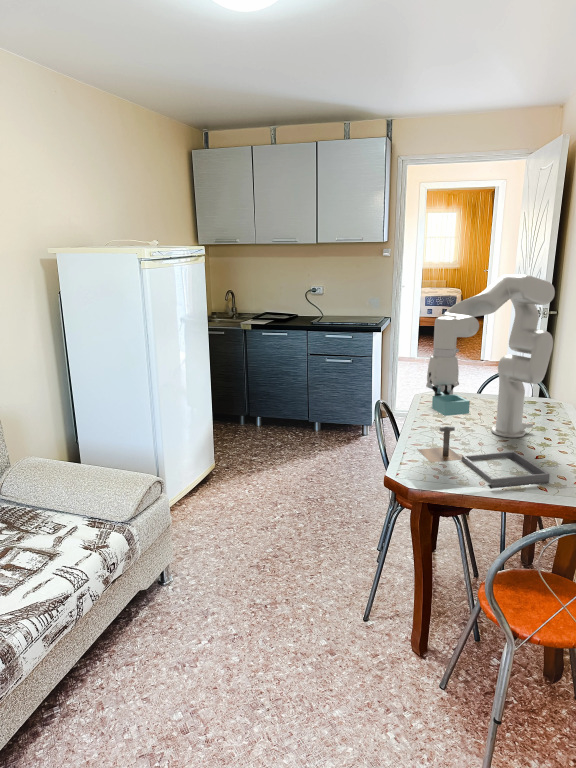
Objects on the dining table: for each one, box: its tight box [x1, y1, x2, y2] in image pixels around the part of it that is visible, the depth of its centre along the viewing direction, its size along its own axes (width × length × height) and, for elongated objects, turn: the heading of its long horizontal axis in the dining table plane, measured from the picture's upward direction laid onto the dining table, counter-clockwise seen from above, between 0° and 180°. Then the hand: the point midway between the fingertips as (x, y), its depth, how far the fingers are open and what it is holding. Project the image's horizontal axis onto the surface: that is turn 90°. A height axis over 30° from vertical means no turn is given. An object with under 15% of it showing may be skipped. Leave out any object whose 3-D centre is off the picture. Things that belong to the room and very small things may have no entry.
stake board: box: [417, 426, 462, 463], centre depth 186 cm, size 12×12×12 cm
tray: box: [461, 450, 551, 489], centre depth 174 cm, size 20×20×3 cm
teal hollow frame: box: [431, 392, 471, 417], centre depth 183 cm, size 9×14×4 cm, turn 12°
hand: (441, 403), depth 187 cm, fingers closed on teal hollow frame, 2 cm apart
